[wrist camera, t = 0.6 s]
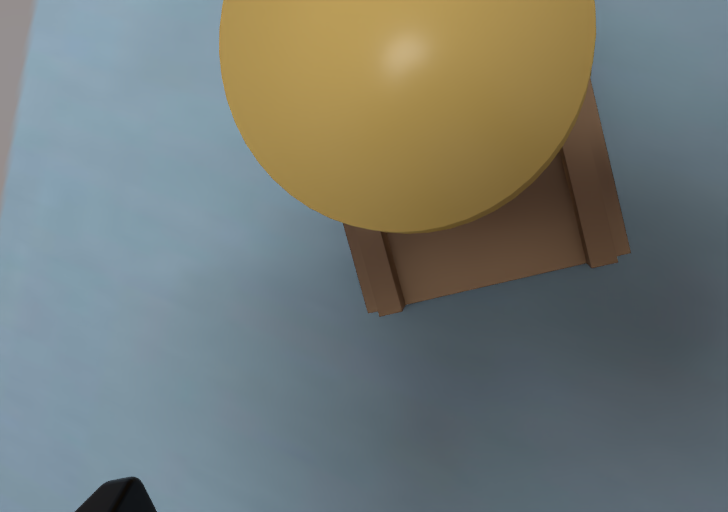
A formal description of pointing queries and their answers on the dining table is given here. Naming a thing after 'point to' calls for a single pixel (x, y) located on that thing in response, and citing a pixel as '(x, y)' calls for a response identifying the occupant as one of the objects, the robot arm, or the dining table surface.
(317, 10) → the tan cylinder
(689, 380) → the dining table surface
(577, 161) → the rail
